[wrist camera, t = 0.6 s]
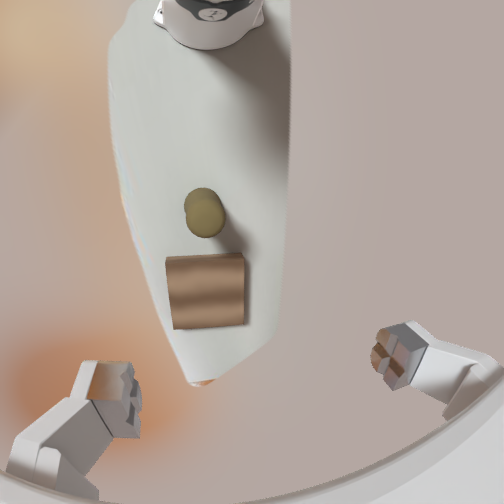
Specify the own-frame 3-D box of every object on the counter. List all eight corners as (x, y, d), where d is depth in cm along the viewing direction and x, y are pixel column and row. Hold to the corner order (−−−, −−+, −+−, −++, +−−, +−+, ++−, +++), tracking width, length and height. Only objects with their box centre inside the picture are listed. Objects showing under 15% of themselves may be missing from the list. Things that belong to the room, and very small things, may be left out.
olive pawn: (227, 211, 45) (239, 228, 35) (196, 230, 45) (198, 253, 35) (209, 180, 43) (215, 188, 33) (177, 200, 43) (173, 214, 33)
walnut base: (166, 256, 45) (165, 263, 43) (241, 252, 48) (244, 259, 45) (173, 320, 50) (173, 329, 47) (240, 315, 53) (243, 324, 50)
